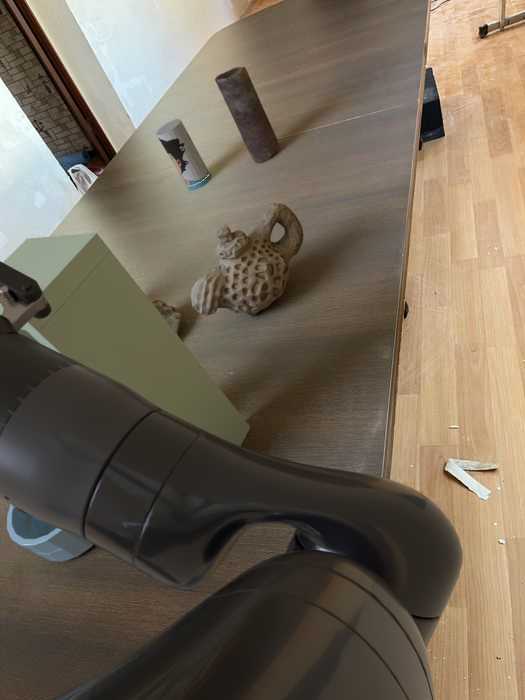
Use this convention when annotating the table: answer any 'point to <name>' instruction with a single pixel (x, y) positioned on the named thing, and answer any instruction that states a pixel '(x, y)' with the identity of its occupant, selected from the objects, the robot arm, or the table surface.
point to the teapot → (250, 266)
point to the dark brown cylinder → (248, 113)
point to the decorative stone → (168, 314)
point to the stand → (119, 330)
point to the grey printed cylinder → (183, 153)
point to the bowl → (44, 537)
